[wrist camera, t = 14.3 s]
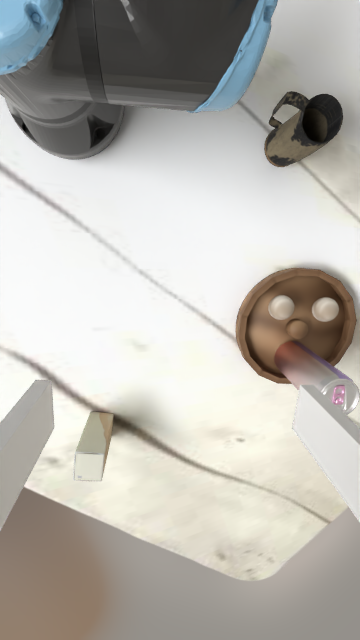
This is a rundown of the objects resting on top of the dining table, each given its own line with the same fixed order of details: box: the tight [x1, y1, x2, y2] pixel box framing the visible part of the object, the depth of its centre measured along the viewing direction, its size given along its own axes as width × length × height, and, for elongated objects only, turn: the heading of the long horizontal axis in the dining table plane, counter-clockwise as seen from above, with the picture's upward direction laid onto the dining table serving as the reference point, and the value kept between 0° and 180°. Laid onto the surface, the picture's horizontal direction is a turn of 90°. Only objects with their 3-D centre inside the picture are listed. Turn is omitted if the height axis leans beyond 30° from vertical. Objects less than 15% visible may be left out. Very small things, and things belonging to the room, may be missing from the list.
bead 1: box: [268, 295, 294, 320], centre depth 48 cm, size 4×4×4 cm
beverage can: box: [274, 341, 360, 415], centre depth 46 cm, size 6×6×15 cm
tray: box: [236, 268, 356, 384], centre depth 51 cm, size 20×20×3 cm
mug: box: [264, 91, 343, 167], centre depth 39 cm, size 8×6×12 cm
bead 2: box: [312, 297, 339, 322], centre depth 49 cm, size 4×4×4 cm
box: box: [73, 412, 114, 481], centre depth 49 cm, size 5×4×11 cm
